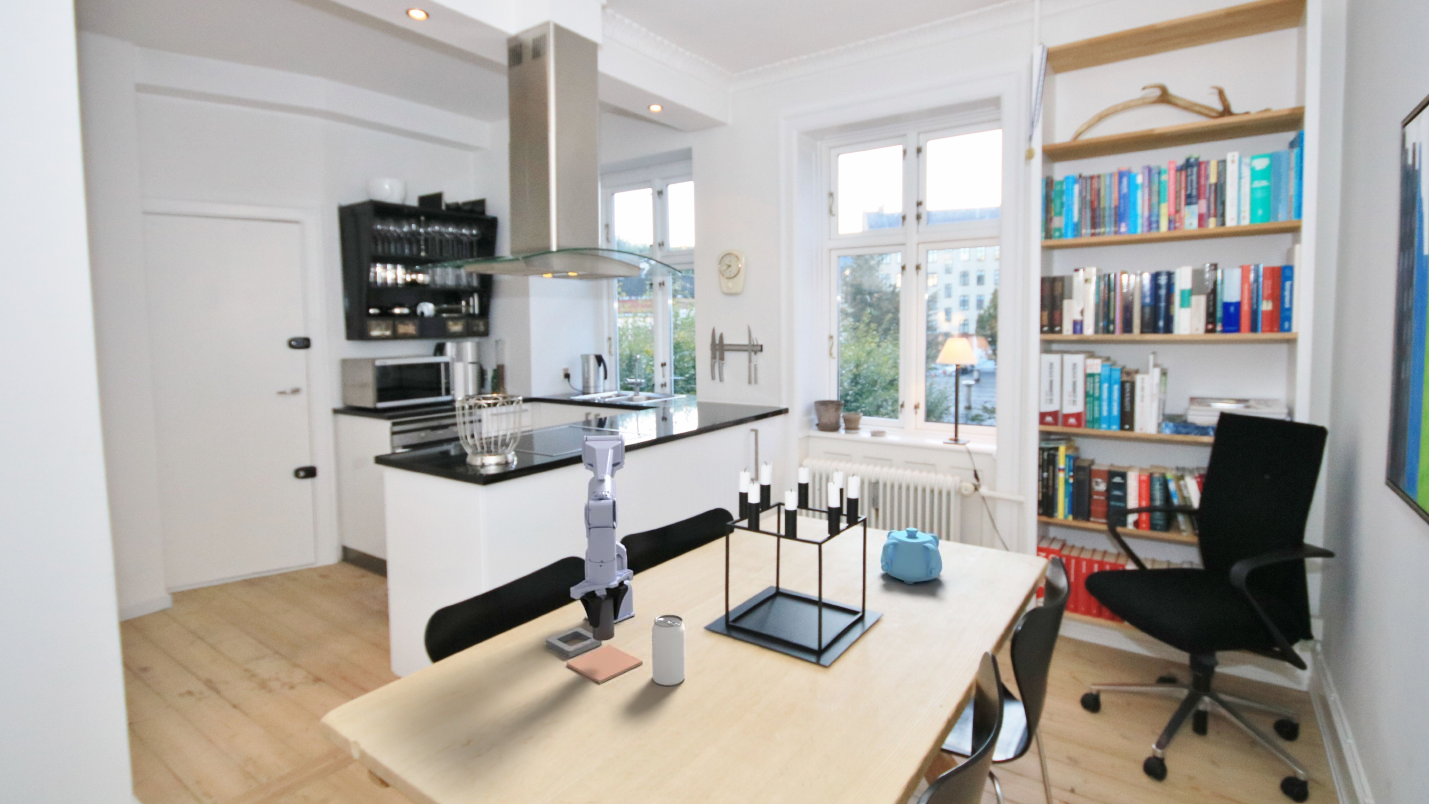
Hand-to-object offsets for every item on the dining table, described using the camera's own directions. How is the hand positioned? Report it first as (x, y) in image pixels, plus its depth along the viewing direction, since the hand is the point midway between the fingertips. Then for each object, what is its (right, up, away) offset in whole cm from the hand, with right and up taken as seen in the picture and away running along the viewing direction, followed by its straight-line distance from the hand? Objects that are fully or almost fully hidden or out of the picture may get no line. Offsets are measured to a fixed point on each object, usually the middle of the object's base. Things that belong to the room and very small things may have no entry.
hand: (603, 622), depth 145 cm
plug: (0, -3, 0) cm, 3 cm away
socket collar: (-8, -8, +10) cm, 15 cm away
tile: (0, -9, +1) cm, 9 cm away
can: (+14, -10, -5) cm, 18 cm away
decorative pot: (+77, -3, +51) cm, 92 cm away
